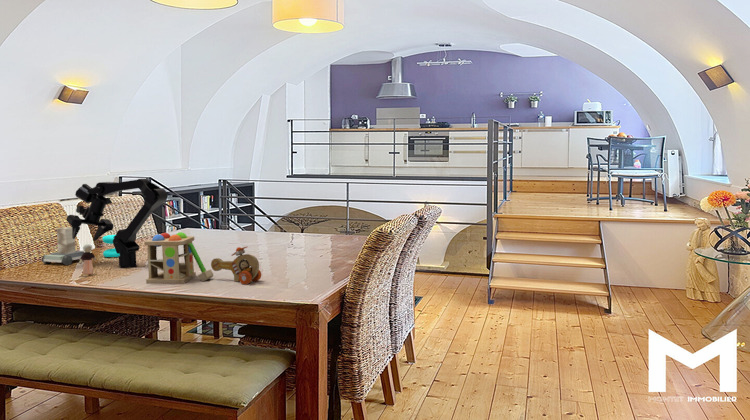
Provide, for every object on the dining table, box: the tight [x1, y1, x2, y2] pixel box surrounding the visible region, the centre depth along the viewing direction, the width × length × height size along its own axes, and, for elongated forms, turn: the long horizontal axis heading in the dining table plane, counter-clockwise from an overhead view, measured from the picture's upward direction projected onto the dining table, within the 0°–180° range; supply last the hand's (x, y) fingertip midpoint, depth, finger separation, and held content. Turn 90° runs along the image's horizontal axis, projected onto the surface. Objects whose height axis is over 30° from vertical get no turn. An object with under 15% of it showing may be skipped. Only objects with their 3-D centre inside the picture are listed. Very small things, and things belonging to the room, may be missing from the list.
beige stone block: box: [56, 226, 77, 254], centre depth 264 cm, size 5×5×13 cm
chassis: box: [41, 249, 85, 266], centre depth 265 cm, size 16×13×4 cm
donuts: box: [102, 234, 120, 258], centre depth 281 cm, size 10×10×10 cm
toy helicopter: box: [210, 246, 262, 285], centre depth 222 cm, size 8×21×14 cm, turn 67°
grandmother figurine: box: [78, 243, 97, 277], centre depth 235 cm, size 8×4×13 cm, turn 168°
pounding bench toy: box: [144, 231, 214, 284], centre depth 225 cm, size 23×14×18 cm, turn 89°
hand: (83, 239), depth 258 cm, fingers open, 9 cm apart
